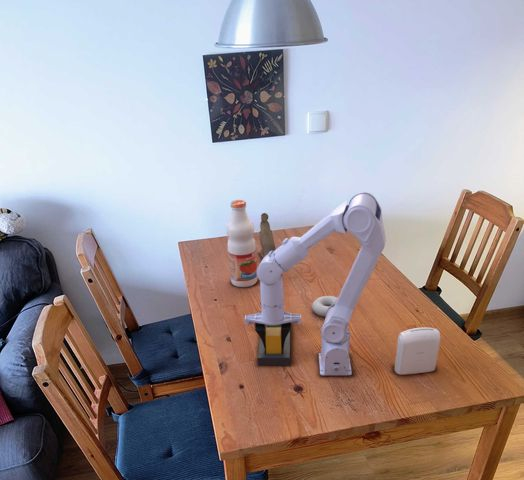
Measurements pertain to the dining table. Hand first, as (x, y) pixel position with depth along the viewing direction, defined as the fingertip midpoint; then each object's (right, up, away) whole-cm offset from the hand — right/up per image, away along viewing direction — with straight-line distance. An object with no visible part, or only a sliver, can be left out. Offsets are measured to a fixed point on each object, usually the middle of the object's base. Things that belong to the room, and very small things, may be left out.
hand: (274, 345), depth 129 cm
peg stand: (+1, +1, +7) cm, 7 cm away
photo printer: (+36, -6, -6) cm, 37 cm away
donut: (+17, +11, +20) cm, 29 cm away
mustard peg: (0, -3, +2) cm, 3 cm away
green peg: (+1, +5, +13) cm, 14 cm away
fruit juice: (-9, +23, +39) cm, 46 cm away
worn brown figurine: (0, +34, +54) cm, 64 cm away
